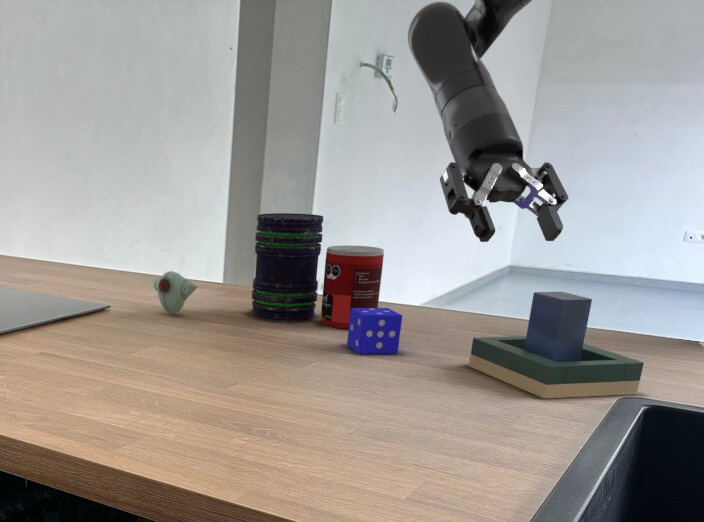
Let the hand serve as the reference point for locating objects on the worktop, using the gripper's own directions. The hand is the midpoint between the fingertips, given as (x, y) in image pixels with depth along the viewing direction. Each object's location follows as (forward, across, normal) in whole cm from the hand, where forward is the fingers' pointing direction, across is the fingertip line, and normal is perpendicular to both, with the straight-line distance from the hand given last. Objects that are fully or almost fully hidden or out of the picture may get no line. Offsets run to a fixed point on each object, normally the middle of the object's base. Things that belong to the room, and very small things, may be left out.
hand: (522, 237), depth 100 cm
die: (+5, -13, +16) cm, 22 cm away
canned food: (-6, -9, +28) cm, 30 cm away
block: (+16, 0, +3) cm, 16 cm away
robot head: (-14, -33, +35) cm, 51 cm away
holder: (+17, 0, +4) cm, 17 cm away
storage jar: (-12, -16, +33) cm, 39 cm away
